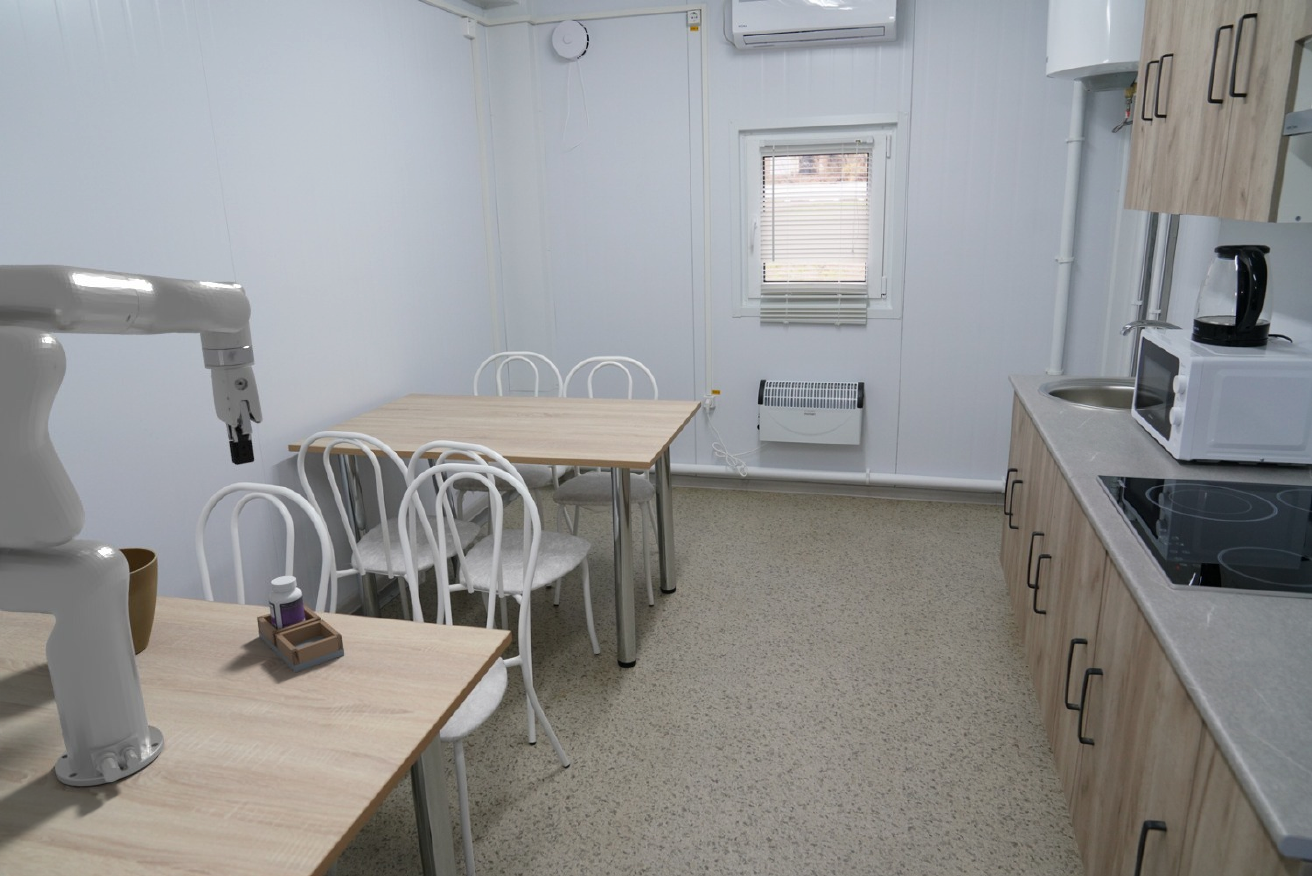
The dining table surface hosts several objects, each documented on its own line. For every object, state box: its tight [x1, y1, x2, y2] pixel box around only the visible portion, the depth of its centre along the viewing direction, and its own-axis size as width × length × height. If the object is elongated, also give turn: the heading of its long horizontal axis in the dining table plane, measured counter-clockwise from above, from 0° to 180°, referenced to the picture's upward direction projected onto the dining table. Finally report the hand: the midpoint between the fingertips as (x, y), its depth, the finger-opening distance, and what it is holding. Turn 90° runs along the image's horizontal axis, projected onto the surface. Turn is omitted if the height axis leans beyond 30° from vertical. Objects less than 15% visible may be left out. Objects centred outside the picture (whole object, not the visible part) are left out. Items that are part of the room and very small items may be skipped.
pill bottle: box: [268, 575, 305, 630], centre depth 147 cm, size 5×5×10 cm
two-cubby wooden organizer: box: [256, 603, 345, 673], centre depth 145 cm, size 17×8×4 cm, turn 43°
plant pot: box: [117, 547, 159, 655], centre depth 143 cm, size 15×15×16 cm
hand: (243, 462), depth 145 cm, fingers closed
